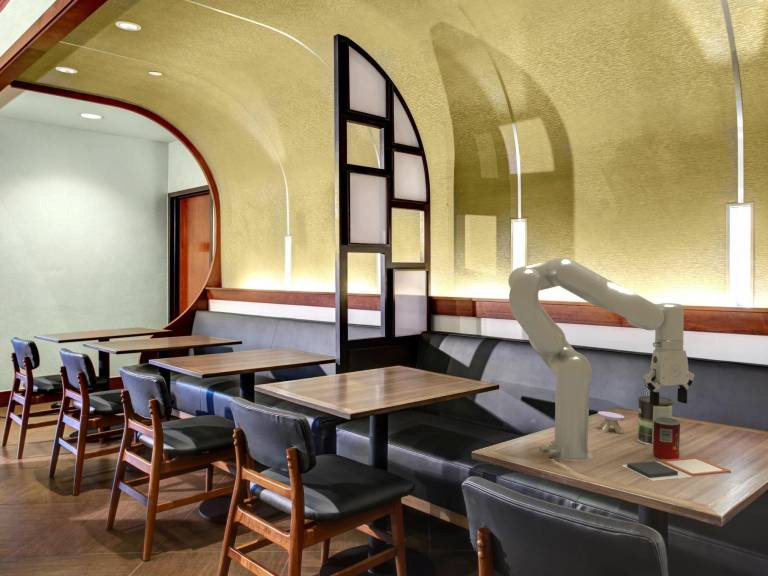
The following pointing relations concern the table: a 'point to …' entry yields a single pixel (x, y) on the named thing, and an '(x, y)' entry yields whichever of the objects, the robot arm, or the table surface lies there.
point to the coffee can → (651, 417)
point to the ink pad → (652, 469)
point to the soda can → (666, 438)
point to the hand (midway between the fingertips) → (668, 403)
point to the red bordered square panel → (695, 466)
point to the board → (680, 475)
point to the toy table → (610, 421)
